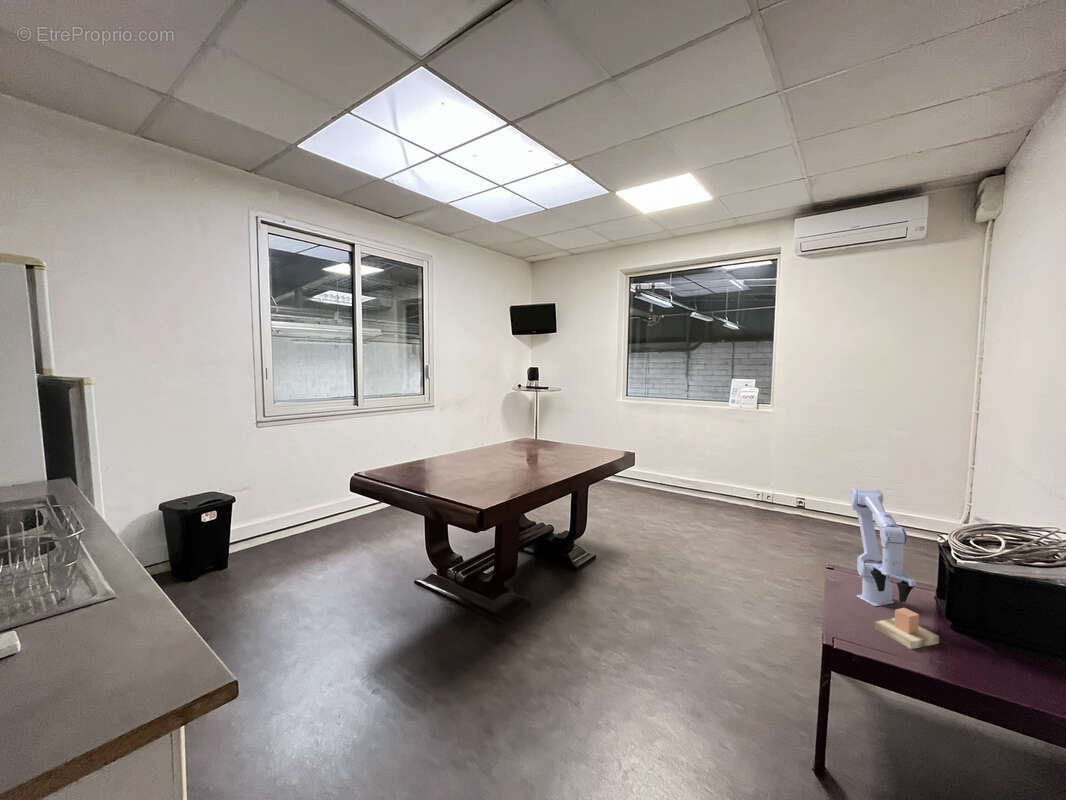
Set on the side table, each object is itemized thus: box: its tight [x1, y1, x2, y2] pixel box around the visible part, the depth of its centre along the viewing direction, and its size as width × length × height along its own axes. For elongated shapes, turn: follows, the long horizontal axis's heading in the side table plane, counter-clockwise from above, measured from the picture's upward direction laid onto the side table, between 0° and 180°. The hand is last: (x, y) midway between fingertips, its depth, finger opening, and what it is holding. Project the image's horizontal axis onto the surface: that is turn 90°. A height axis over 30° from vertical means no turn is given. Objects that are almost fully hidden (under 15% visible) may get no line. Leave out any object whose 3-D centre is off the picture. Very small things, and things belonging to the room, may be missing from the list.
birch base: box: [874, 617, 940, 650], centre depth 149 cm, size 12×12×3 cm
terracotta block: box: [894, 607, 920, 634], centre depth 149 cm, size 4×4×6 cm
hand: (891, 596), depth 157 cm, fingers open, 7 cm apart
